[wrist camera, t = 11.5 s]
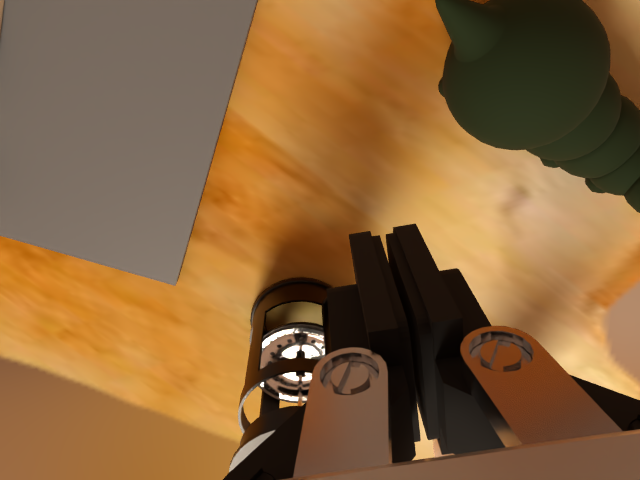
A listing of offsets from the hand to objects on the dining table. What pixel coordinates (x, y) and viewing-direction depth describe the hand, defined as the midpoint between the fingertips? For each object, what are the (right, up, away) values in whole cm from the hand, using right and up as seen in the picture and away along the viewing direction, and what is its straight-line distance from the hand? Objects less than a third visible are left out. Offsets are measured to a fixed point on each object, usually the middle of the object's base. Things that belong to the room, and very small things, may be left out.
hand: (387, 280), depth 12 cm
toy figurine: (+15, +12, +25) cm, 32 cm away
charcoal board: (-20, +11, +24) cm, 33 cm away
